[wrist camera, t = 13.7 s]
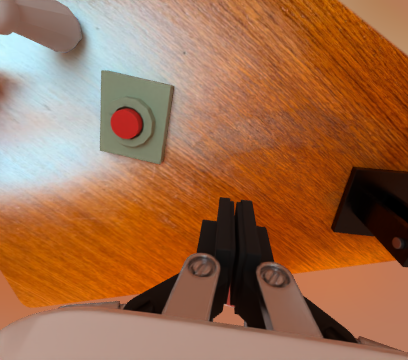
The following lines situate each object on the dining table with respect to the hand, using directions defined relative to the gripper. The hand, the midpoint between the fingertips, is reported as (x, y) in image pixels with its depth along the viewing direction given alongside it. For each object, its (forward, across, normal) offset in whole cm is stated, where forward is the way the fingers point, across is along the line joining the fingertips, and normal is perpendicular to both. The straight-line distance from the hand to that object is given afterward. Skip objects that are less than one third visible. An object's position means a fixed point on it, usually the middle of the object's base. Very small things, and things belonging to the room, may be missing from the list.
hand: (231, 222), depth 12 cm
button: (+23, +15, 0) cm, 27 cm away
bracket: (+26, -25, +11) cm, 38 cm away
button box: (+26, +15, 0) cm, 30 cm away
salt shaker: (+26, +24, -11) cm, 38 cm away
